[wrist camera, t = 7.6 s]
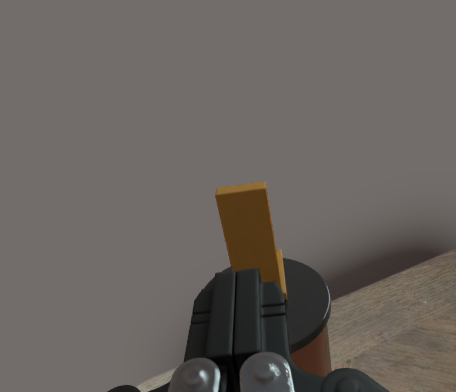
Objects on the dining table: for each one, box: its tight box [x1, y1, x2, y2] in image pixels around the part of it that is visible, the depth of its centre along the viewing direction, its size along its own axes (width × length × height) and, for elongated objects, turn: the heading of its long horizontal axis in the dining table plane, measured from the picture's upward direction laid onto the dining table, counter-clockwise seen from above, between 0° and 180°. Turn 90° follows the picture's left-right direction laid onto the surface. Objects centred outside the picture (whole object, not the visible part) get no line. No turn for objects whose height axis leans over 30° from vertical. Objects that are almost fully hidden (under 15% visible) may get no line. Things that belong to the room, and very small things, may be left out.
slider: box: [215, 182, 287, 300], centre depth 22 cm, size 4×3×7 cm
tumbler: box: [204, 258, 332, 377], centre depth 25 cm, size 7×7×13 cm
